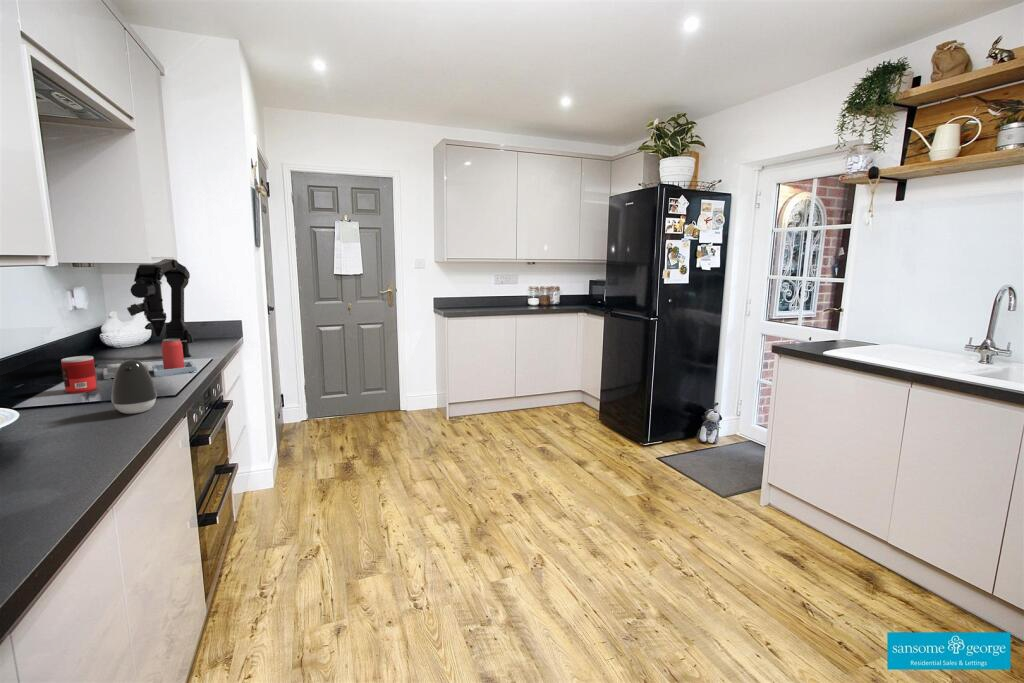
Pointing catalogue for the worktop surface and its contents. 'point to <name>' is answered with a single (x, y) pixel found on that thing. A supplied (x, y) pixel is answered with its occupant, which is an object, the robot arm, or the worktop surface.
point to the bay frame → (114, 369)
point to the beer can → (172, 354)
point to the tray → (160, 370)
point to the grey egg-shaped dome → (133, 388)
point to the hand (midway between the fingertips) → (157, 334)
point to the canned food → (79, 374)
